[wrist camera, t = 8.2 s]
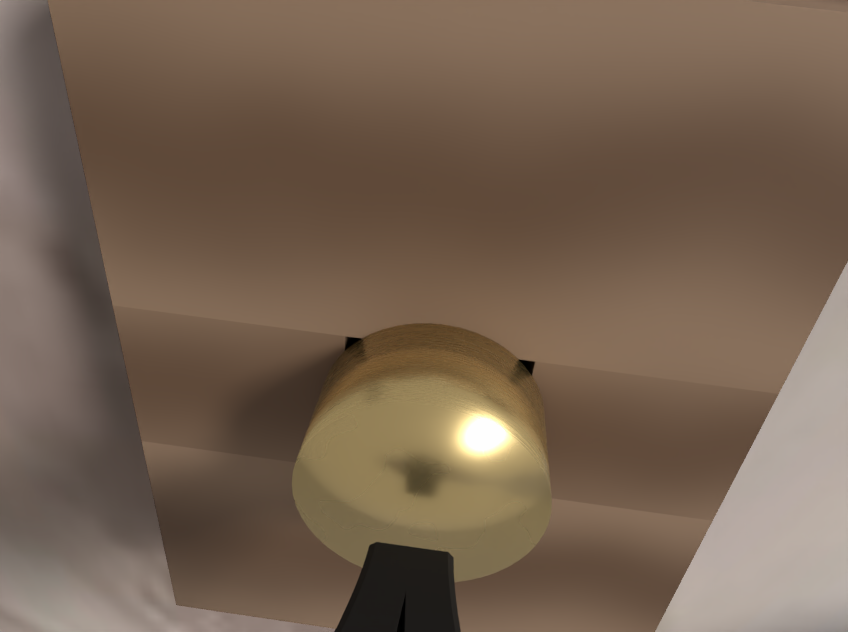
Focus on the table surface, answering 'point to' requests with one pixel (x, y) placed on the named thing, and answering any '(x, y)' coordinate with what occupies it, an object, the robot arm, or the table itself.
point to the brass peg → (427, 450)
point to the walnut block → (461, 257)
